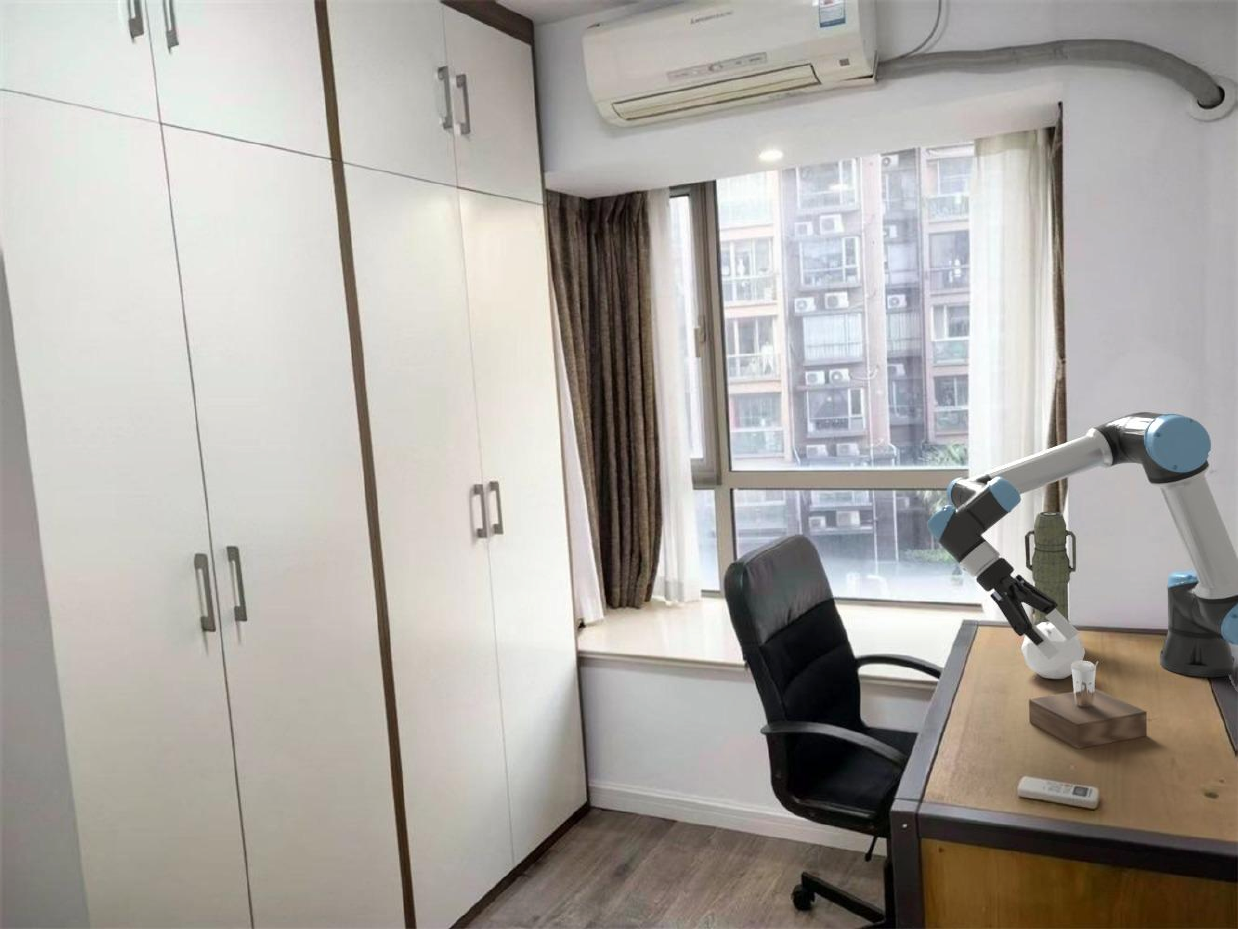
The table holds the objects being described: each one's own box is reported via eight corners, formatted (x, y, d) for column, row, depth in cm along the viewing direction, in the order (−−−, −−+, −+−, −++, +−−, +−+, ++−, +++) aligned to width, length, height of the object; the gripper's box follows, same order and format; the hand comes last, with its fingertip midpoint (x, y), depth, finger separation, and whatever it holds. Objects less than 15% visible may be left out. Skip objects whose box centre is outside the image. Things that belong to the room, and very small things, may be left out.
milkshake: (1091, 712, 179) (1090, 663, 178) (1066, 704, 183) (1066, 656, 182) (1105, 706, 181) (1104, 658, 180) (1080, 698, 185) (1080, 652, 184)
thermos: (1026, 638, 240) (1023, 510, 236) (1076, 640, 235) (1073, 510, 231) (1027, 648, 232) (1024, 516, 228) (1078, 651, 227) (1076, 516, 223)
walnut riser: (1094, 710, 191) (1094, 688, 191) (1146, 735, 178) (1146, 711, 177) (1029, 722, 188) (1029, 699, 187) (1077, 748, 174) (1077, 724, 174)
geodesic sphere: (1090, 670, 199) (1085, 612, 206) (1023, 666, 204) (1020, 609, 211) (1085, 689, 211) (1080, 633, 217) (1021, 685, 216) (1019, 631, 222)
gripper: (995, 565, 203) (1068, 639, 194) (953, 591, 184) (1032, 674, 176) (1019, 544, 199) (1094, 619, 190) (979, 569, 180) (1060, 652, 172)
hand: (1064, 645), depth 183 cm, fingers open, 13 cm apart
